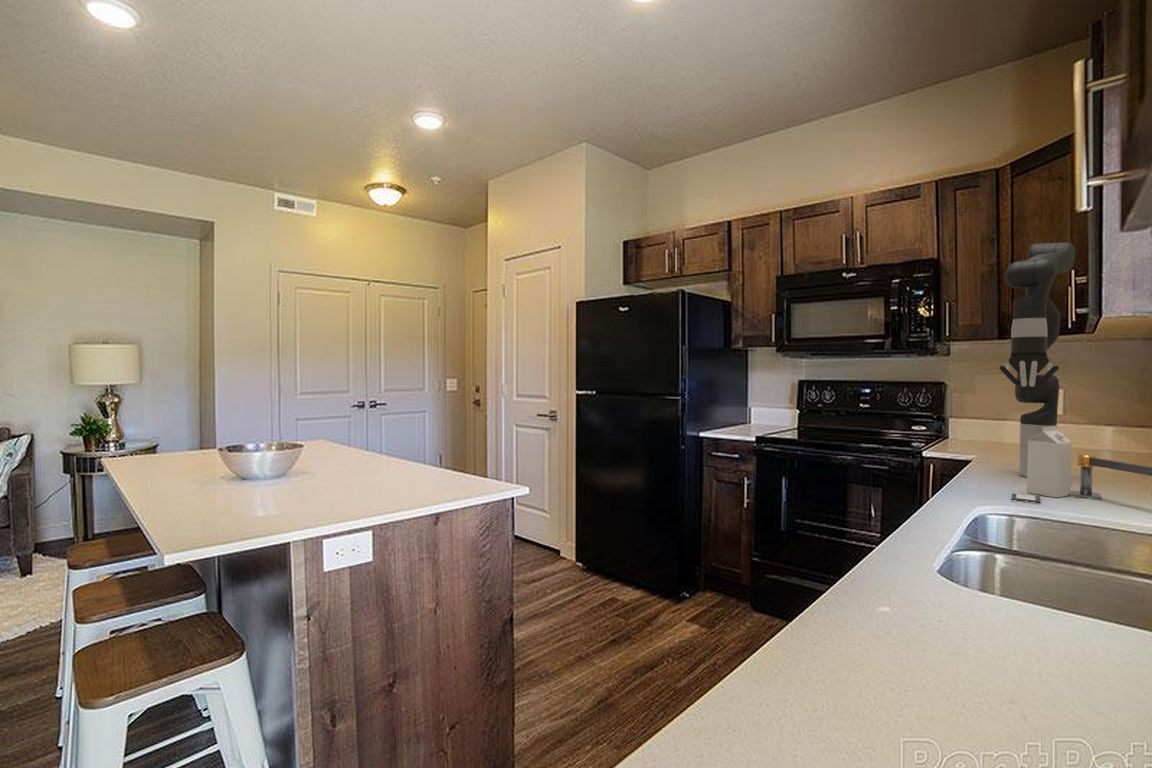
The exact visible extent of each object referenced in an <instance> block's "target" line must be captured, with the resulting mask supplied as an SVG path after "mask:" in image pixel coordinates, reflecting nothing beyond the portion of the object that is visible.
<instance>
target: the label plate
mask: <svg viewBox="0 0 1152 768" xmlns="http://www.w3.org/2000/svg"><path fill="white" fill-rule="evenodd" d="M1011 500H1017V501H1016V502H1018V501H1028V502H1035V503H1041V495H1033V494H1032V495H1031V494H1021V493H1013V492H1012V493H1011ZM1035 503H1034V504H1035Z"/></svg>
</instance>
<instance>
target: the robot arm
mask: <svg viewBox="0 0 1152 768" xmlns="http://www.w3.org/2000/svg"><path fill="white" fill-rule="evenodd" d="M1075 257H1076V250H1075V246H1074V245H1073V244H1072V243H1071V242H1046V243H1045V242H1043V243H1042V242H1041V243H1033V244H1031V245H1030V246H1029V248H1028V249H1027V253H1026V257H1025V258H1026V259H1023V260H1019V261H1014V262H1012V263H1011V264H1010V265H1009V266H1008V267H1007V268H1006V270H1005V272H1004V281H1005V283H1006V284H1007V286H1008V287H1009V288H1011V289H1025V293H1024V294H1025V296H1019V297H1017V298H1015V299H1014V300H1013V303H1012V323H1011V329H1010V330H1011V331H1010V333H1011V334H1010V339H1011V340H1010V356H1009V359H1008V362H1006V363H1005V364H1003V365H1000V366H999V368H998V369H999V371H1001V373H1003V374H1004V375H1005V376H1006V377H1007V378H1008V379H1009V381H1010V382H1011V383H1012V384H1014V396H1015V399H1016V401H1018V403H1024V404H1025V403H1026V404H1043V405H1042V407H1040V408H1039V409H1037V410H1034V411H1031V412H1027V413H1023V414H1021V415H1020V417H1019V418H1020V419H1019V421H1020V422H1019V465H1018V466H1019V467H1018V469H1019V470H1018V471H1019V472H1018V473H1019V476H1021V477H1025V478H1027V468H1028V440H1030V439H1031V438H1033V437H1034V436H1036V435H1037V434H1039V433H1041V432H1042V428H1043V427H1055V426H1057V427H1058V421H1057V420H1058V408H1059V406H1058V405H1059V397H1060V396H1059V395H1060V381H1059V379H1058V377H1057V376H1056V375H1054V374H1055V373H1056V372H1057V371H1058V370H1059V365H1055V364H1053V363H1051V362H1050V359H1049V357H1048V350H1049V349H1050V348H1051V347H1052V346H1053V344H1055V343H1056V341H1057V339H1058V338H1059V336H1060V335H1059V334H1060V326H1061V319H1062V317H1061V313H1060V311H1059V310H1058V308H1057V307H1056V305H1055V304H1054V303H1053V301H1052V300H1051V299H1050V298H1049V294H1050V291H1051V289H1052V286H1053V283H1054V281H1055V278H1056V275H1057V274H1065V273H1068V272H1069V271H1070V270H1071V269H1072V267H1073V265H1074V262H1075ZM1011 367H1012V368H1013V370H1014V371H1015V372H1017V373H1016V377H1015V376H1014V375H1013V373H1011V370H1012V368H1011ZM1045 367H1046V368H1045ZM1044 368H1045V370H1046V371H1047V372H1046V373H1044V374H1038V373H1040V372H1042V370H1043V369H1044Z"/></svg>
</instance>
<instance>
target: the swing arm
mask: <svg viewBox="0 0 1152 768" xmlns="http://www.w3.org/2000/svg"><path fill="white" fill-rule="evenodd" d="M1077 466H1080V467H1081V466H1088V467H1092V468H1093V467H1099V468H1105V469H1110V470H1115V471H1122V472H1127V473H1133V474H1139V475H1144V476H1149V477H1150V476H1151V477H1152V466H1150V465H1146V464H1145V465H1144V464H1137V463H1130V462H1124V461H1119V460H1112V459H1107V458H1100V457H1096V455H1093V454H1086V453H1085V454H1083V453H1081V454H1080V453H1079V454H1077Z"/></svg>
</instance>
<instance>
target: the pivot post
mask: <svg viewBox="0 0 1152 768" xmlns="http://www.w3.org/2000/svg"><path fill="white" fill-rule="evenodd" d="M1079 478H1080V480H1079V482H1080V483H1079V484H1080V485H1079V486H1080V487H1079V490H1072V489H1070V496H1071V497H1072V496H1075V497H1074V498H1078V497H1084V498H1083V499H1088V498H1092V499H1091V500H1097V499H1101V500H1100V501H1102V500H1103V497H1102V495H1101V493H1100V492H1093V489H1092V488H1093V467H1090V466H1080V477H1079Z"/></svg>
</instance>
